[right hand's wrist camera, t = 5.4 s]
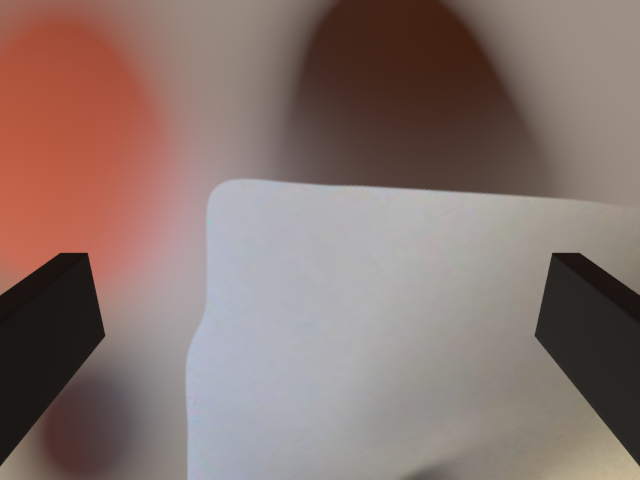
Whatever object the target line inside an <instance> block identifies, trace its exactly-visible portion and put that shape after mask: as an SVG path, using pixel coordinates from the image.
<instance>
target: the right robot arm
mask: <svg viewBox="0 0 640 480" xmlns="http://www.w3.org/2000/svg"><path fill="white" fill-rule="evenodd" d="M104 337H105V332H104V327H103V323H102V318H101V313H100V309H99V304H98V299H97V295H96V290H95V285H94V280H93V276H92V271H91V267H90V262H89V257H88V253H60V254H58V255H57V256H55V257H54V258H53V259H51V260H50V261H48V262H47V263H46V264H44V265H43V266H41V267H40V268H38V269H37V270H36V271H34V272H33V273H31V274H30V275H29V276H27V277H26V278H24V279H23V280H22V281H20V282H19V283H17V284H16V285H14V286H13V287H12V288H10V289H9V290H7V291H6V292H5V293H3V294H2V295H0V466H1V465H2V464H3V462H4V461H5V460H6V459H7V457H8V456H9V455H10V454H11V452H12V451H13V450H14V449H15V447H16V446H17V445H18V444H19V442H20V441H21V440H22V439H23V437H24V436H25V435H26V434H27V432H28V431H29V430H30V429H31V427H32V426H33V425H34V424H35V423H36V421H37V420H38V419H39V418H40V416H41V415H42V414H43V413H44V411H45V410H46V409H47V408H48V406H49V405H50V404H51V403H52V401H53V400H54V399H55V398H56V396H57V395H58V394H59V393H60V392H61V390H62V389H63V388H64V386H65V385H66V384H67V383H68V382H69V380H70V379H71V378H72V377H73V375H74V374H75V373H76V372H77V370H78V369H79V368H80V367H81V365H82V364H83V363H84V362H85V360H86V359H87V358H88V357H89V355H90V354H91V353H92V352H93V351H94V349H95V348H96V347H97V346H98V344H99V343H100V342H101V341H102V339H103V338H104ZM535 337H536V338H537V339H538V341H539V342H540V343H541V344H542V346H543V347H544V348H545V349H546V351H547V352H548V353H549V354H550V355H551V357H552V358H553V359H554V360H555V362H556V363H557V364H558V365H559V367H560V368H561V369H562V370H563V372H564V373H565V374H566V375H567V377H568V378H569V379H570V380H571V382H572V383H573V384H574V385H575V387H576V388H577V389H578V390H579V392H580V393H581V394H582V395H583V396H584V398H585V399H586V400H587V401H588V403H589V404H590V405H591V406H592V408H593V409H594V410H595V411H596V413H597V414H598V415H599V416H600V418H601V419H602V420H603V421H604V423H605V424H606V425H607V426H608V428H609V429H610V430H611V431H612V433H613V434H614V435H615V436H616V437H617V439H618V440H619V441H620V442H621V444H622V445H623V446H624V447H625V449H626V450H627V451H628V452H629V454H630V455H631V456H632V457H633V459H634V460H635V461H636V462H637V464H638V465H639V466H640V295H638V294H637V293H635V292H634V291H633V290H631V289H630V288H628V287H627V286H626V285H624V284H623V283H621V282H620V281H618V280H617V279H616V278H614V277H613V276H611V275H610V274H609V273H607V272H606V271H604V270H603V269H602V268H600V267H599V266H597V265H596V264H594V263H593V262H592V261H590V260H589V259H587V258H586V257H585V256H583V255H582V254H580V253H552V257H551V262H550V266H549V271H548V276H547V280H546V285H545V290H544V294H543V299H542V304H541V309H540V313H539V318H538V323H537V327H536V332H535Z"/></svg>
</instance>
